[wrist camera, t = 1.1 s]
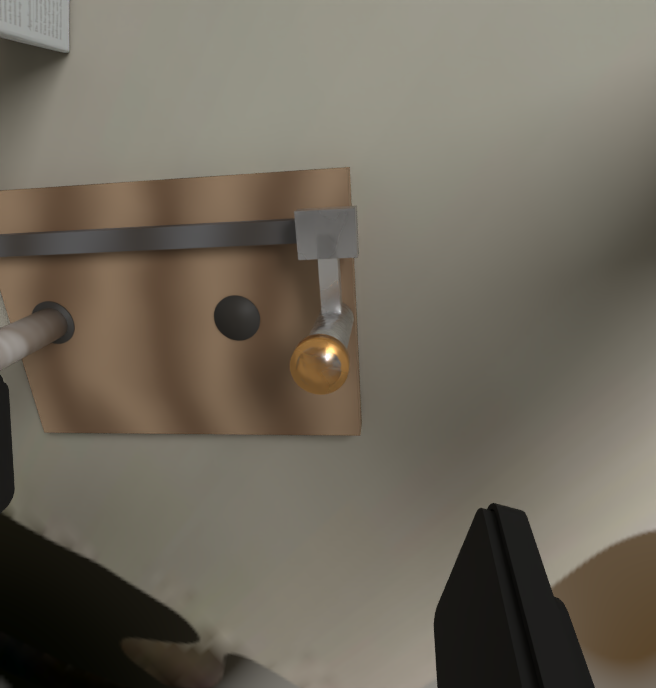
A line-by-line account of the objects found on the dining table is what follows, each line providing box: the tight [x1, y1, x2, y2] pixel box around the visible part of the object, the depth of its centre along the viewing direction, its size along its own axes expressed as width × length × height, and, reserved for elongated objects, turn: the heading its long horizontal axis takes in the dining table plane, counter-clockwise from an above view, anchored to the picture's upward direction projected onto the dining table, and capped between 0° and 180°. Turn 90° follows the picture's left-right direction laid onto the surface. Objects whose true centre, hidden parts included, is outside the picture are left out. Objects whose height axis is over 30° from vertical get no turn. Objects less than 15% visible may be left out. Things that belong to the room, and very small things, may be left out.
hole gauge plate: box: [0, 167, 362, 436], centre depth 27 cm, size 22×16×9 cm
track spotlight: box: [290, 206, 359, 395], centre depth 24 cm, size 3×8×7 cm, turn 4°
